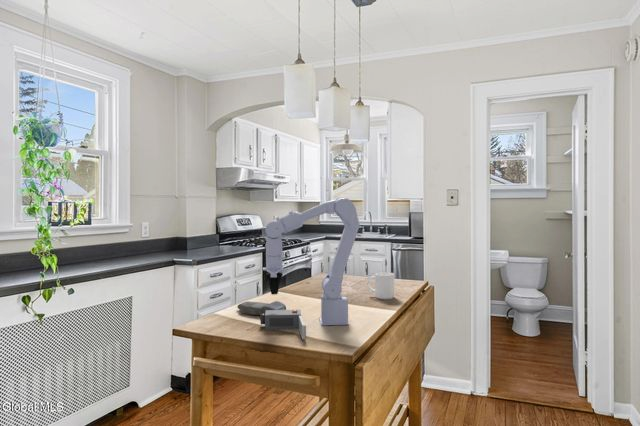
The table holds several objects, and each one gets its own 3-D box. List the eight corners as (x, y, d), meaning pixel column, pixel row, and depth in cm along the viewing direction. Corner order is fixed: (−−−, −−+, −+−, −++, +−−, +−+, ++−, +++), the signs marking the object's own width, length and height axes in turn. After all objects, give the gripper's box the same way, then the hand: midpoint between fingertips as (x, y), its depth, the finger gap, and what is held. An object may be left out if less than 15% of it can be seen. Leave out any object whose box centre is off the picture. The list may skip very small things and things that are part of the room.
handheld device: (245, 307, 174) (245, 296, 173) (288, 314, 165) (288, 302, 164) (229, 313, 165) (229, 301, 165) (274, 321, 156) (274, 308, 156)
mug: (364, 297, 189) (364, 274, 188) (370, 293, 196) (370, 270, 196) (391, 300, 184) (391, 276, 183) (396, 296, 191) (396, 272, 191)
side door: (298, 328, 145) (298, 315, 145) (302, 328, 145) (302, 315, 145) (302, 339, 134) (302, 325, 134) (306, 339, 135) (306, 325, 134)
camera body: (300, 323, 152) (300, 307, 151) (300, 329, 146) (300, 312, 145) (261, 324, 151) (261, 308, 150) (260, 330, 145) (260, 313, 144)
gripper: (263, 252, 158) (264, 289, 158) (261, 258, 143) (261, 299, 144) (283, 252, 158) (283, 289, 159) (282, 258, 144) (283, 299, 144)
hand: (274, 294), depth 151 cm, fingers closed
